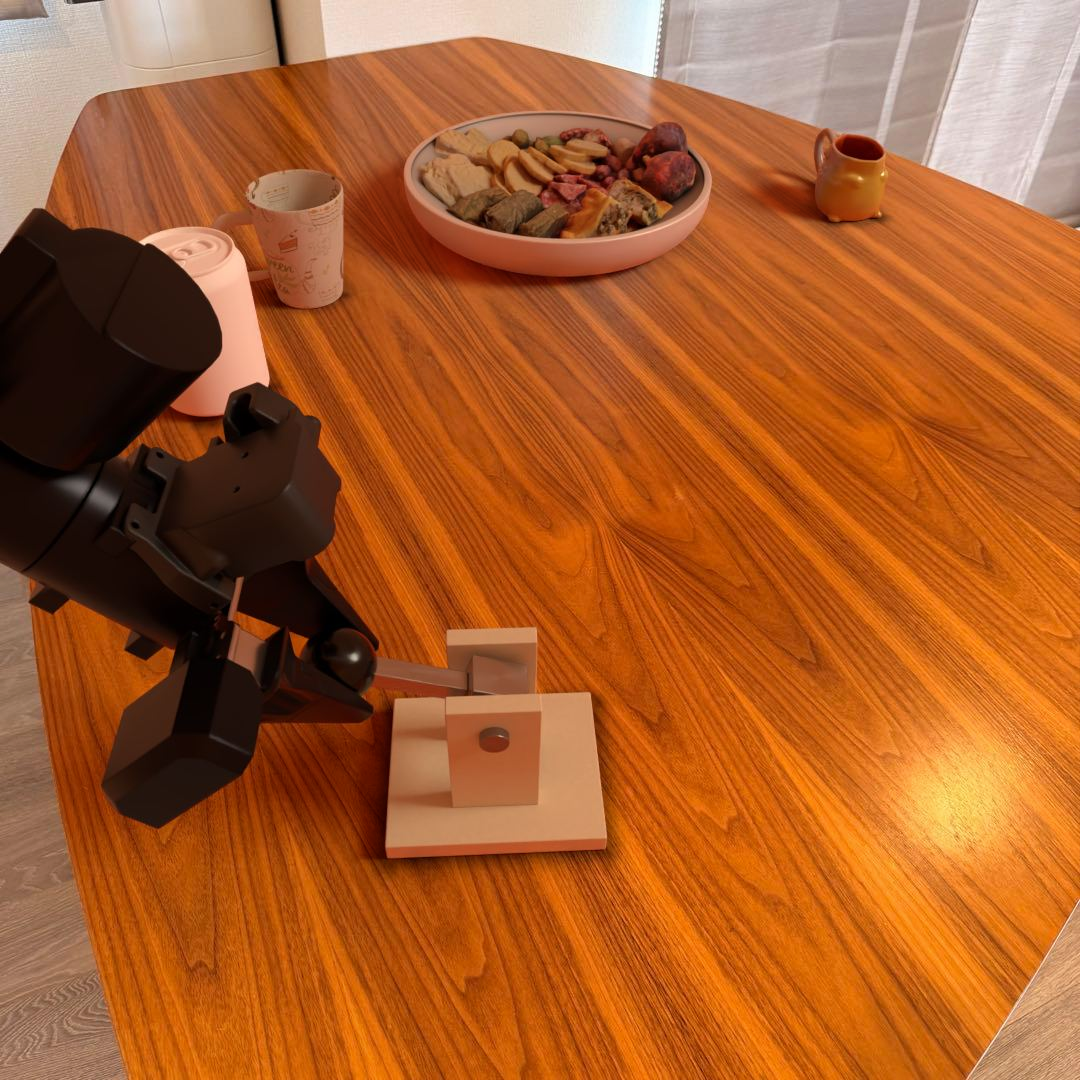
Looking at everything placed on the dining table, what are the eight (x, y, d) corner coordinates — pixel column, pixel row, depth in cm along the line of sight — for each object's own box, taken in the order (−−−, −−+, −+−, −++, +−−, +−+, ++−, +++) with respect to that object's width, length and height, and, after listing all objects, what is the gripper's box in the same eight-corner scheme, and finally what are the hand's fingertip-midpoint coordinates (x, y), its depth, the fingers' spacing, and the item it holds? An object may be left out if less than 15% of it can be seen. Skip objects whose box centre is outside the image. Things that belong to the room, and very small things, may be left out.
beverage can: (144, 391, 76) (98, 250, 68) (232, 350, 80) (199, 212, 72) (203, 437, 72) (162, 292, 64) (292, 391, 76) (264, 250, 68)
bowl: (472, 320, 84) (469, 236, 79) (369, 180, 104) (361, 104, 98) (763, 256, 93) (779, 176, 88) (619, 139, 113) (624, 67, 107)
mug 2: (889, 222, 99) (908, 158, 94) (826, 227, 98) (841, 162, 93) (843, 172, 107) (858, 111, 103) (784, 176, 106) (797, 114, 102)
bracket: (386, 859, 49) (367, 755, 42) (395, 710, 55) (380, 600, 48) (605, 849, 49) (619, 745, 43) (589, 704, 56) (599, 594, 49)
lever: (286, 713, 44) (301, 666, 42) (296, 651, 47) (310, 603, 44) (509, 748, 47) (534, 705, 45) (507, 688, 50) (530, 645, 47)
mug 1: (361, 309, 85) (348, 206, 78) (220, 327, 83) (194, 221, 76) (349, 265, 91) (336, 165, 84) (216, 281, 88) (192, 178, 82)
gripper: (117, 585, 27) (501, 791, 36) (231, 255, 40) (491, 463, 49) (-73, 749, 32) (305, 895, 40) (85, 406, 45) (345, 571, 54)
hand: (370, 682), depth 46 cm, fingers closed on lever, 3 cm apart
